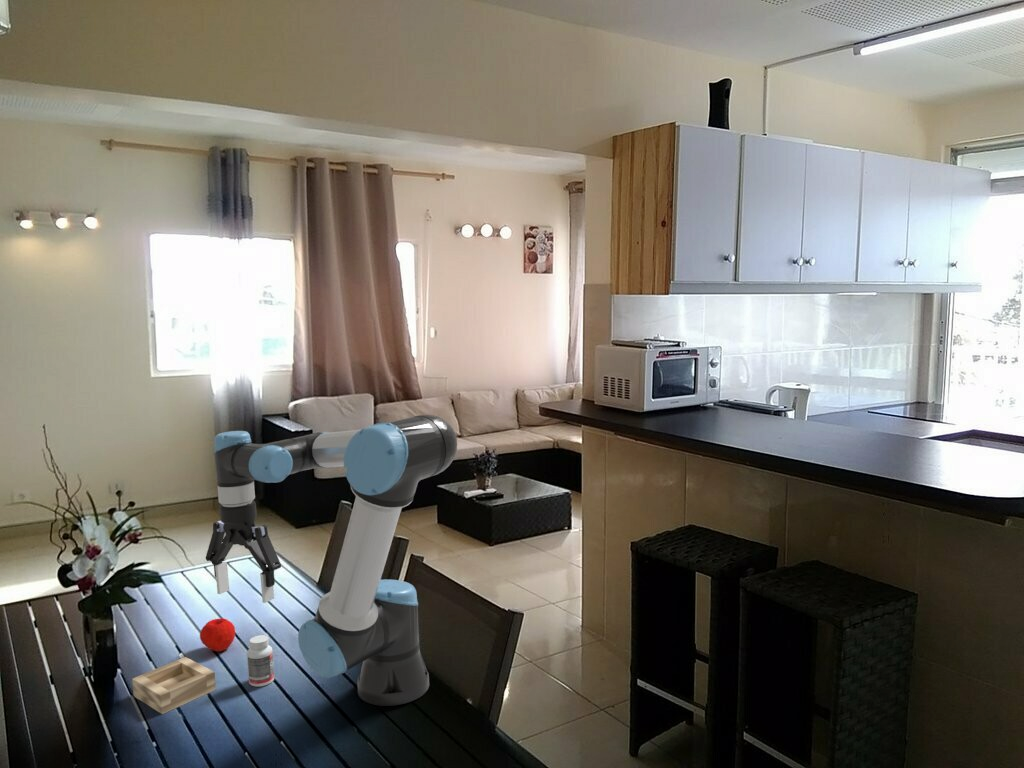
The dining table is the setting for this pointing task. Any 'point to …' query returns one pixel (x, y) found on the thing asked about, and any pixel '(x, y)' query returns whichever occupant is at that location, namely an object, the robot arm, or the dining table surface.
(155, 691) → the maple holder
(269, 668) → the pill bottle
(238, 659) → the dining table surface
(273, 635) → the dining table surface
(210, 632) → the apple
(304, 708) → the dining table surface
